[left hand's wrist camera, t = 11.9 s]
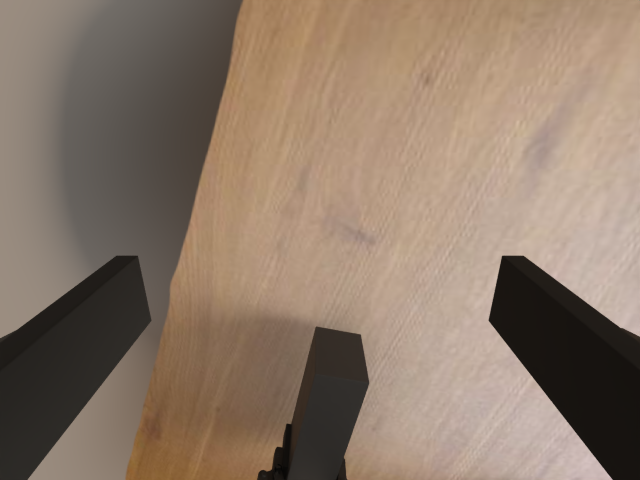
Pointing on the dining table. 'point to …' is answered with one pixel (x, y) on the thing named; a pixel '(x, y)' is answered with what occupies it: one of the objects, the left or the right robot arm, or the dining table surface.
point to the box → (327, 405)
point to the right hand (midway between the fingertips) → (309, 434)
